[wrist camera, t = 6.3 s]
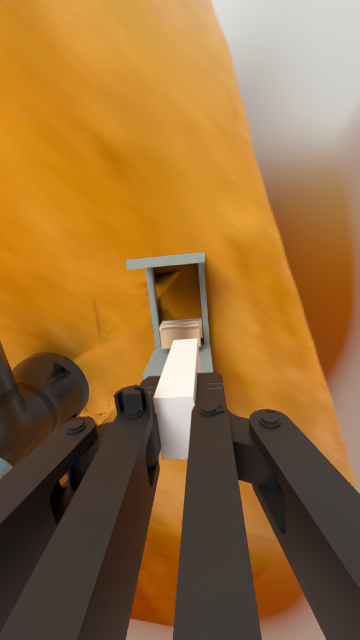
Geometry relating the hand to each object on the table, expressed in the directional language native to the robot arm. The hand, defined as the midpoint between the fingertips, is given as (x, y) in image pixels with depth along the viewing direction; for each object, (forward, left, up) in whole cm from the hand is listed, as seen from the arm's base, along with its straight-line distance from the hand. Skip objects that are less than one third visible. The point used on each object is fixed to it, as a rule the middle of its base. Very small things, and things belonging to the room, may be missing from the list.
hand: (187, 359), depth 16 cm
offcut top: (-3, -7, -26) cm, 27 cm away
